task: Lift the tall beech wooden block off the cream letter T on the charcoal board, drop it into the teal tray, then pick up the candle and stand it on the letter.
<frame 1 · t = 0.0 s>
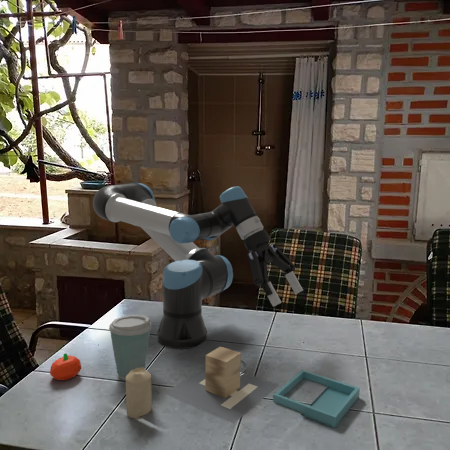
hand: (288, 298, 135), 15 cm above the table, tool tilted 35°, fingers open, 13 cm apart
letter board: (222, 392, 113), on the table
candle: (139, 412, 104), on the table
pumpkin: (66, 378, 119), on the table
disposable coffee cup: (131, 374, 121), on the table
wooden block: (222, 388, 113), point 1 cm above the table, touching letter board
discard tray: (316, 401, 110), on the table
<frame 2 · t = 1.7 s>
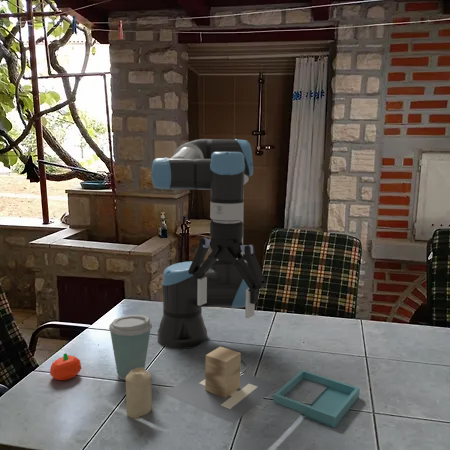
hand: (225, 310, 109), 21 cm above the table, tool pointing down, fingers open, 13 cm apart
nothing on the table moved.
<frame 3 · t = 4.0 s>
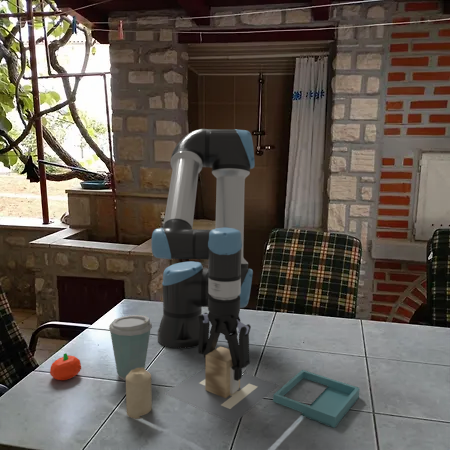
hand: (222, 386, 113), 1 cm above the table, tool pointing down, fingers closed on wooden block, 6 cm apart
wooden block: (222, 388, 113), point 1 cm above the table, touching gripper, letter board
everything else where it was.
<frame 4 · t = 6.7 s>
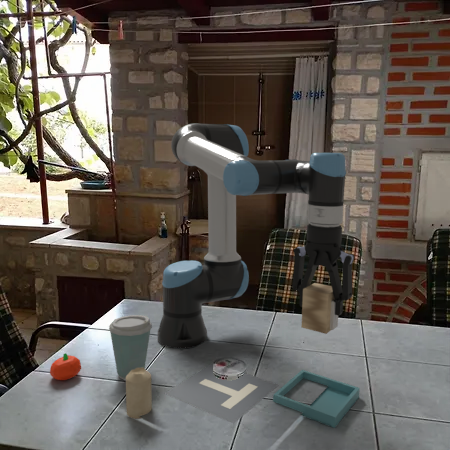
hand: (319, 324, 106), 19 cm above the table, tool pointing down, fingers closed on wooden block, 6 cm apart
wooden block: (319, 326, 106), point 19 cm above the table, touching gripper
everything else where it was.
when the fingers open (3 cm above the table, at t = 9.5 s): wooden block drops 2 cm, resting on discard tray.
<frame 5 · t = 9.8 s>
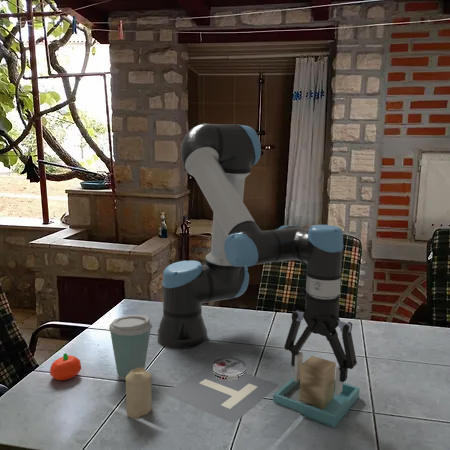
hand: (317, 386, 109), 4 cm above the table, tool pointing down, fingers open, 9 cm apart
wooden block: (316, 399, 109), resting on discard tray
everything else where it was.
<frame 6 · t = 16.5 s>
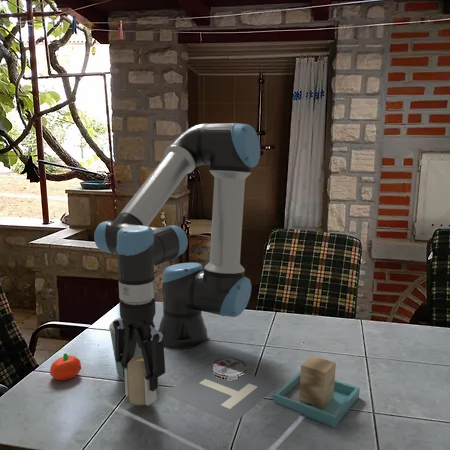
hand: (140, 397, 104), 3 cm above the table, tool pointing down, fingers closed on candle, 5 cm apart
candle: (141, 399, 104), point 3 cm above the table, touching gripper
everything else where it was.
when the fingers open (2 cm above the table, at t = 21.4 s): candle stays where it is, resting on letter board.
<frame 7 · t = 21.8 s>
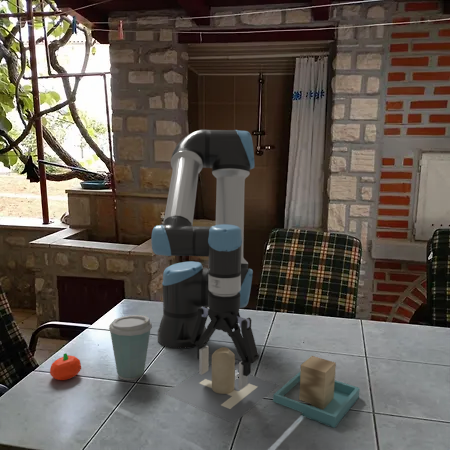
hand: (222, 379, 112), 3 cm above the table, tool pointing down, fingers open, 11 cm apart
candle: (223, 389, 113), point 1 cm above the table, touching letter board
everything else where it was.
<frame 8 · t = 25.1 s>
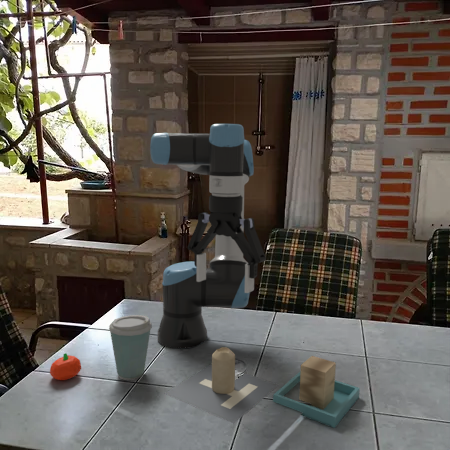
hand: (224, 285, 108), 27 cm above the table, tool pointing down, fingers open, 13 cm apart
nothing on the table moved.
at the end: wooden block inside the target area on the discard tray (0.1 cm from its centre), point 0.4 cm above the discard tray's base; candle inside the target area on the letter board (0.2 cm from its centre), point 0.6 cm above the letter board's base; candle tilted 0° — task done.
